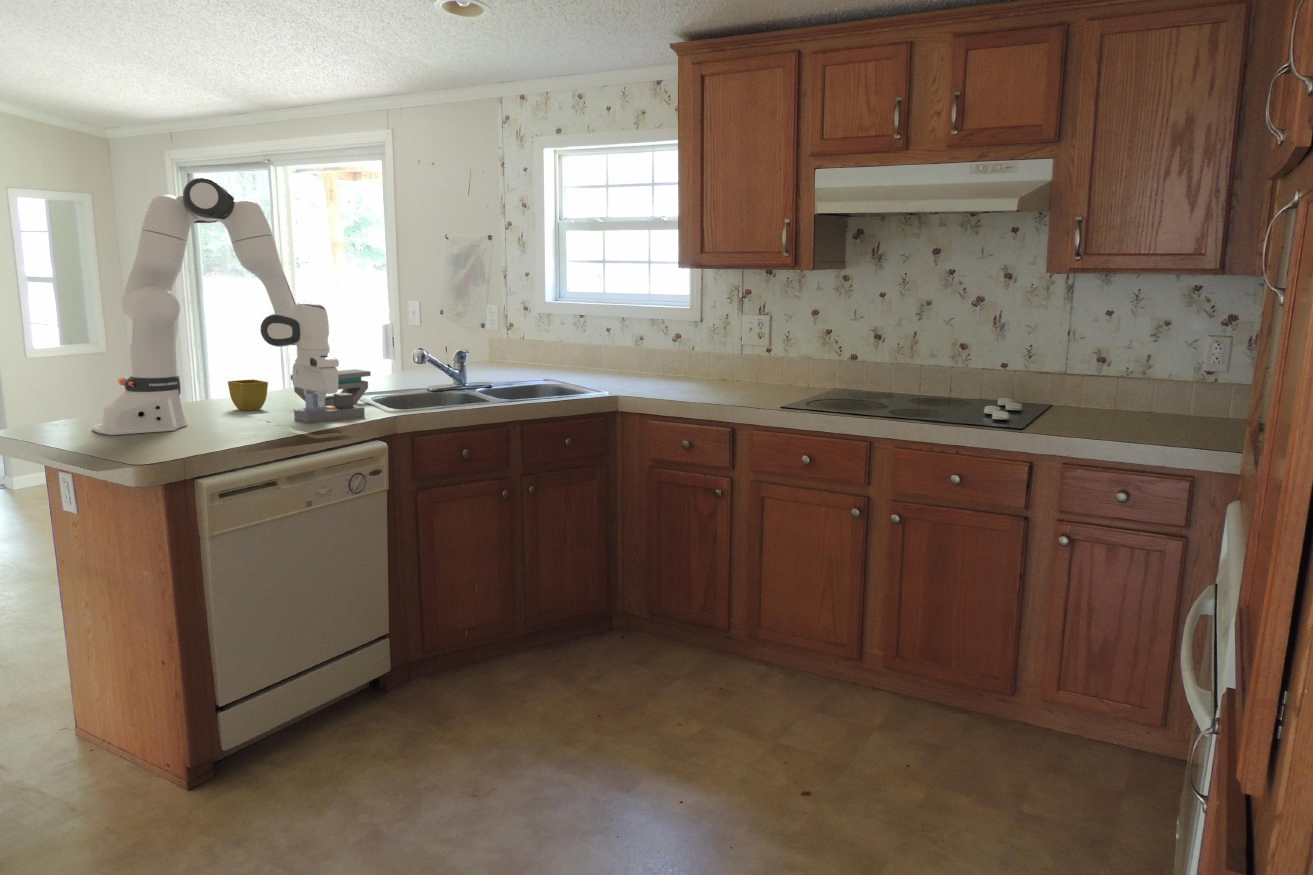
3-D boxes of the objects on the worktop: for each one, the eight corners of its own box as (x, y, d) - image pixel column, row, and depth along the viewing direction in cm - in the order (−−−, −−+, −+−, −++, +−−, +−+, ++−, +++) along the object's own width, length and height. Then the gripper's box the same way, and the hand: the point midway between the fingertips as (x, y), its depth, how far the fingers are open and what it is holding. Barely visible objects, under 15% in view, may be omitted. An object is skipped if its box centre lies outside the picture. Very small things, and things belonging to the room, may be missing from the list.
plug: (313, 418, 258) (312, 394, 257) (306, 416, 261) (305, 392, 260) (325, 416, 261) (325, 393, 260) (318, 415, 264) (318, 391, 263)
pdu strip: (308, 427, 255) (307, 411, 255) (294, 423, 261) (294, 407, 260) (364, 420, 269) (364, 405, 268) (350, 417, 274) (350, 402, 273)
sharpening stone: (356, 400, 306) (355, 369, 304) (371, 403, 302) (370, 371, 300) (291, 408, 286) (290, 375, 284) (307, 411, 282) (305, 377, 280)
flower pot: (254, 406, 287) (253, 378, 285) (270, 409, 282) (268, 381, 280) (228, 409, 280) (226, 381, 278) (243, 412, 275) (242, 383, 273)
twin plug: (341, 418, 265) (340, 395, 264) (334, 416, 268) (333, 393, 266) (353, 417, 268) (352, 394, 267) (346, 415, 271) (345, 392, 269)
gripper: (285, 355, 262) (287, 402, 265) (321, 362, 249) (322, 411, 252) (305, 354, 267) (307, 400, 269) (341, 361, 254) (343, 409, 256)
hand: (315, 405), depth 260 cm, fingers closed on plug, 4 cm apart
